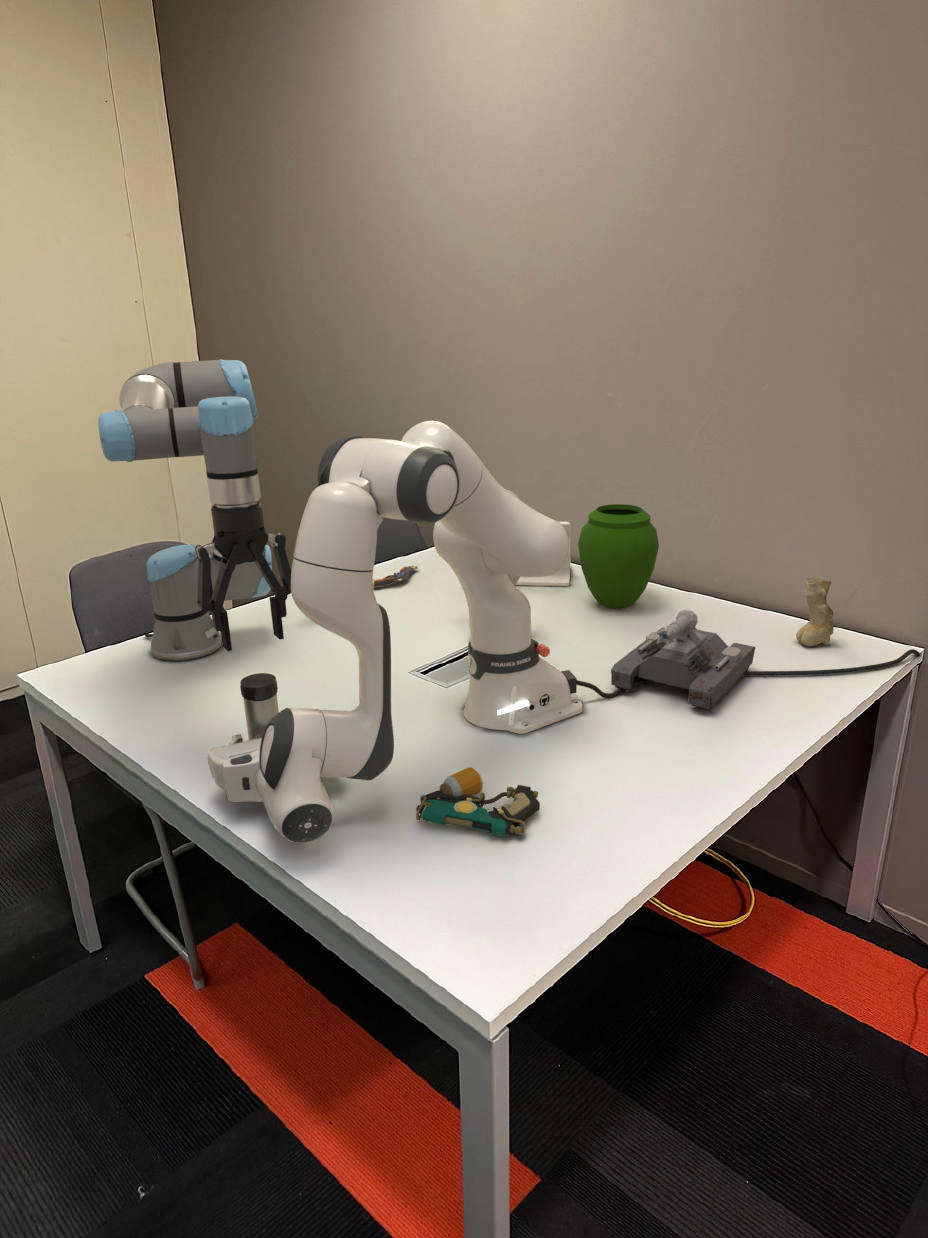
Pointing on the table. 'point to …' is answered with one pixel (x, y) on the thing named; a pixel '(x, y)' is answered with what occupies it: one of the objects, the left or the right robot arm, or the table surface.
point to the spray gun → (477, 805)
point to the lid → (258, 686)
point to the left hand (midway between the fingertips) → (253, 642)
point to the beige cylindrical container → (259, 715)
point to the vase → (618, 554)
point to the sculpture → (817, 613)
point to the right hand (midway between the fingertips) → (265, 732)
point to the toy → (685, 662)
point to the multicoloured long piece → (395, 577)
